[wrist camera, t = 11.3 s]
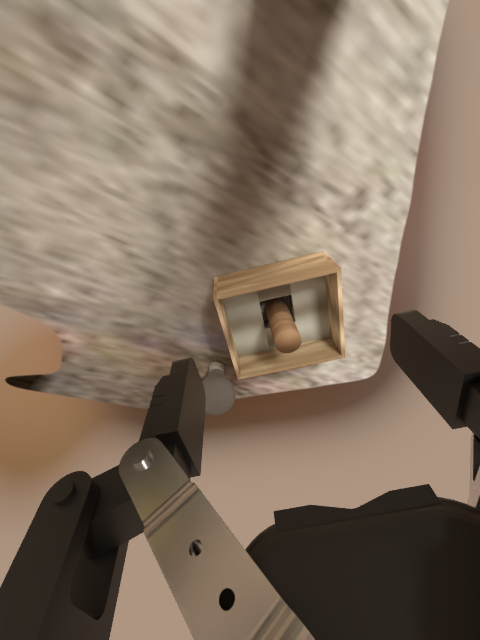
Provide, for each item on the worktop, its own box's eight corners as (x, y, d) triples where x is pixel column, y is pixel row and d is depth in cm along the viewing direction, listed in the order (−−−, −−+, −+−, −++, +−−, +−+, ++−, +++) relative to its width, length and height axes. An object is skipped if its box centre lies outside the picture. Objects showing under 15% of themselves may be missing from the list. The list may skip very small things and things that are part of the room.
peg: (262, 299, 44) (272, 334, 35) (284, 294, 43) (300, 328, 35) (266, 317, 45) (277, 355, 37) (287, 313, 45) (303, 350, 36)
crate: (214, 276, 41) (212, 297, 35) (323, 251, 40) (340, 267, 34) (236, 352, 48) (237, 379, 42) (329, 331, 47) (345, 357, 41)
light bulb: (240, 363, 50) (244, 406, 41) (219, 384, 52) (219, 429, 43) (212, 346, 47) (210, 388, 39) (192, 368, 50) (185, 413, 41)
